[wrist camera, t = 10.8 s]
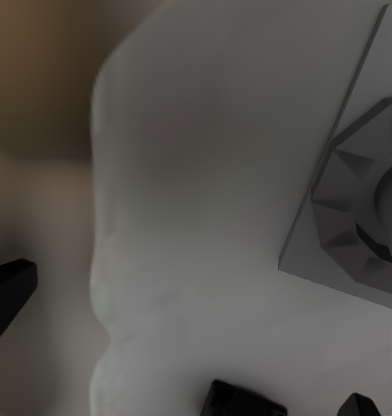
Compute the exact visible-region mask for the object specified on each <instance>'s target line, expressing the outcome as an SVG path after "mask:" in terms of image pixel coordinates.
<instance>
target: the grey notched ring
mask: <svg viewBox="0 0 392 416" xmlns="http://www.w3.org/2000/svg"><path fill="white" fill-rule="evenodd" d="M391 167H392V5H390V4H388V5H385V6H384V7H383V10H382V12H381V14H380V17H379V19H378V22H377V24H376V27H375V29H374V31H373V34H372V36H371V39H370V41H369V43H368V46H367V48H366V51H365V53H364V56H363V58H362V60H361V63H360V65H359V68H358V70H357V73H356V75H355V77H354V80H353V82H352V85H351V87H350V89H349V92H348V94H347V97H346V99H345V102H344V104H343V106H342V109H341V111H340V114H339V116H338V118H337V121H336V123H335V126H334V128H333V131H332V133H331V135H330V138H329V140H328V143H327V145H326V148H325V150H324V152H323V155H322V157H321V160H320V162H319V164H318V167H317V169H316V172H315V174H314V177H313V179H312V181H311V184H310V186H309V189H308V191H307V194H306V196H305V198H304V201H303V203H302V206H301V208H300V210H299V213H298V215H297V218H296V220H295V223H294V225H293V227H292V230H291V232H290V235H289V237H288V240H287V242H286V244H285V247H284V249H283V252H282V254H281V256H280V259H279V264H278V270H281V271H284V272H287V273H290V274H293V275H296V276H299V277H301V278H304V279H307V280H310V281H313V282H316V283H319V284H322V285H325V286H328V287H330V288H333V289H336V290H339V291H342V292H345V293H348V294H351V295H354V296H357V297H359V298H362V299H365V300H368V301H371V302H374V303H377V304H380V305H383V306H386V307H388V308H391V309H392V256H391V253H390V250H389V247H388V244H387V242H386V239H385V236H384V233H383V230H382V227H381V224H380V221H379V218H378V215H377V212H376V209H375V205H374V194H375V190H376V187H377V185H378V182H379V181H380V179H381V177H382V176H383V175H384V174H385V173H386V171H388V170H389V169H390V168H391Z"/></svg>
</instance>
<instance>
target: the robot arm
mask: <svg viewBox="0 0 392 416" xmlns="http://www.w3.org/2000/svg"><path fill="white" fill-rule="evenodd" d="M37 285H38V275H37V265H36V263H35V262H33V261H30V260H28V259H25V258H21V259H17V260H14V261H11V262H8V263H5V264H2V265H0V337H1V335H2V334H3V333H4V332H5V330H6V329H7V328H8V326H9V325H10V324H11V322H12V321H13V320H14V318H15V317H16V316H17V314H18V313H19V312H20V310H21V309H22V308H23V306H24V305H25V304H26V302H27V301H28V300H29V298H30V297H31V296H32V294H33V293H34V291H35V290H36V288H37ZM200 416H287V411H286V410H285V409H284V408H281V407H279V406H277V405H274V404H272V403H269V402H267V401H265V400H262V399H260V398H257V397H255V396H252V395H250V394H248V393H245V392H243V391H240V390H238V389H235V388H233V387H231V386H228V385H226V384H223V383H221V382H218V381H214V382H213V383H212V385H211V388H210V390H209V393H208V396H207V399H206V401H205V404H204V407H203V409H202V412H201V415H200ZM337 416H381V414H380V413H379V411H378V409H377V407H376V405H375V404H374V402H373V401H372V400H371V399H370V398H368V397H366V396H363V395H361V394H359V393H352V394H351V395H350V396H349V397H348V399H347V400H346V401H345V402H344V404H343V405H342V406H341V407H340V409H339V411H338V413H337Z"/></svg>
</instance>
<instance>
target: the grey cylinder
mask: <svg viewBox="0 0 392 416" xmlns="http://www.w3.org/2000/svg"><path fill="white" fill-rule="evenodd" d="M374 205H375V209H376V212H377V215H378V218H379V221H380V224H381V227H382V230H383V233H384V236H385V239H386V242H387V244H388V247H389V250H390V253H391V256H392V167H391V168H390V169H389V170H388V171H386V173H385V174H384V175H383V176H382V177H381V179H380V181H379V182H378V185H377V187H376V190H375V194H374Z"/></svg>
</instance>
